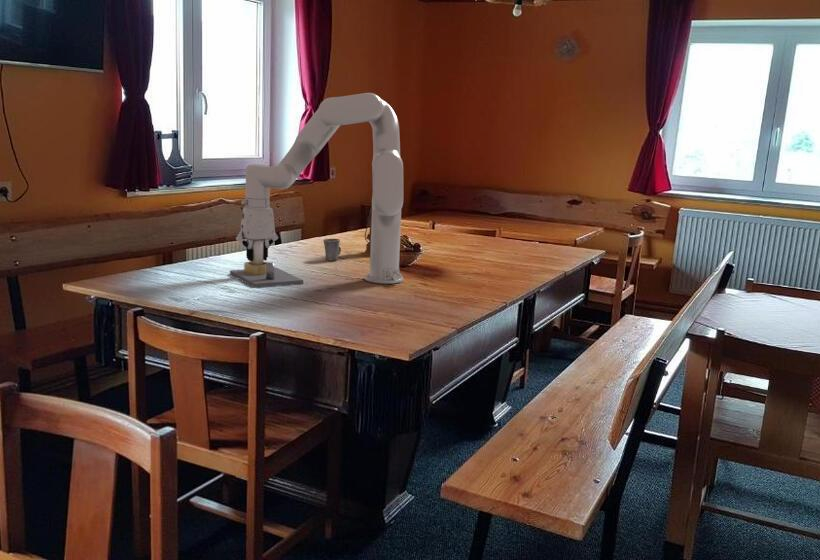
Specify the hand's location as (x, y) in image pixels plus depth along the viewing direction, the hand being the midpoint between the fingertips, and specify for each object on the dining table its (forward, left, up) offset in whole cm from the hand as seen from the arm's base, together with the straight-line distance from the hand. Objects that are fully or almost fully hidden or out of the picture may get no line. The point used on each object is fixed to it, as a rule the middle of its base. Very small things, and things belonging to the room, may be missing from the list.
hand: (257, 259), depth 241 cm
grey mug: (+20, -37, -6) cm, 43 cm away
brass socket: (0, 0, -4) cm, 4 cm away
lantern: (+25, -61, -6) cm, 66 cm away
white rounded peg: (0, 0, -1) cm, 1 cm away
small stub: (-11, 0, -4) cm, 12 cm away
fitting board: (-5, -1, -5) cm, 7 cm away
